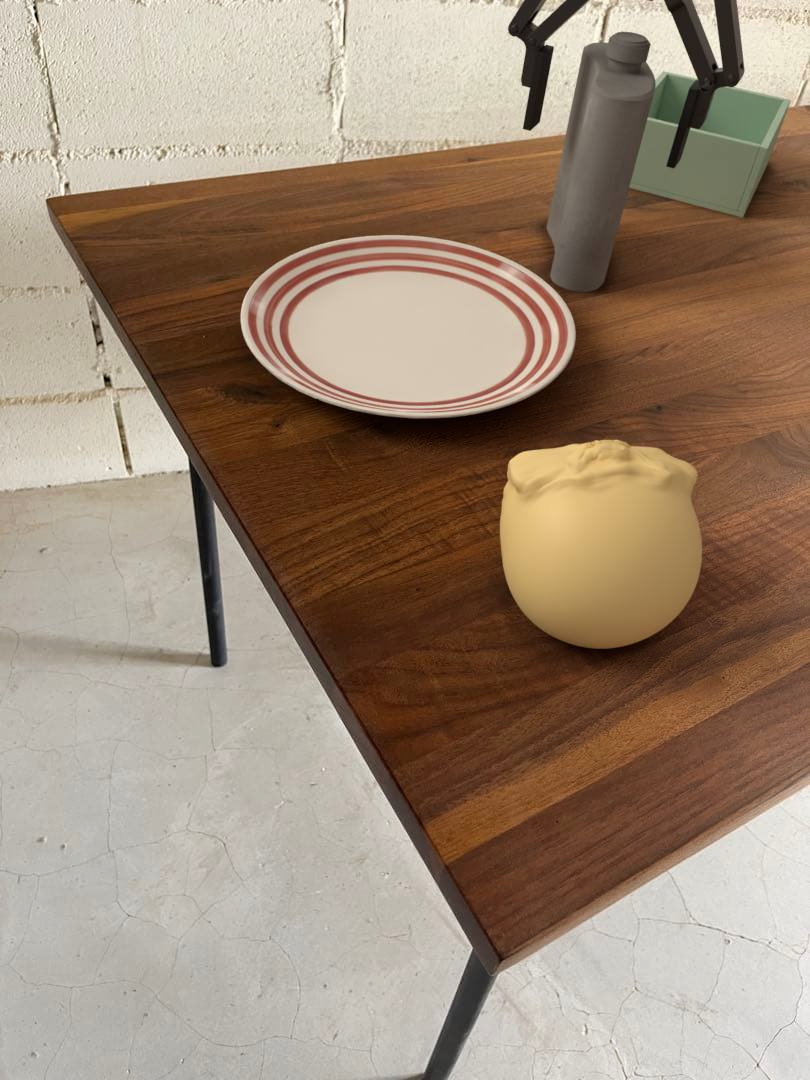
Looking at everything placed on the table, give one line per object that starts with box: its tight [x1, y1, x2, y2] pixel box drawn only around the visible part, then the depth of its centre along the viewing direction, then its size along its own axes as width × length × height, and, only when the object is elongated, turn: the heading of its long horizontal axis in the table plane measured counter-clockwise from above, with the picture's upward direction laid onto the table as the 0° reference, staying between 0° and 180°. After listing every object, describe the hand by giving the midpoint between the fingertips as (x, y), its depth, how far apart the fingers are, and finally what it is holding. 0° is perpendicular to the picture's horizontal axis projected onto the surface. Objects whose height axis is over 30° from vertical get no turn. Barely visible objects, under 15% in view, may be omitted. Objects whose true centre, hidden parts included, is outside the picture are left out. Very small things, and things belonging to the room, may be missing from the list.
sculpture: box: [499, 439, 703, 650], centre depth 52 cm, size 12×12×11 cm
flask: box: [545, 31, 656, 293], centre depth 82 cm, size 15×6×20 cm, turn 176°
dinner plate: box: [240, 234, 577, 419], centre depth 74 cm, size 28×27×3 cm
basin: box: [629, 70, 792, 218], centre depth 103 cm, size 16×18×8 cm
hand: (600, 144), depth 81 cm, fingers open, 13 cm apart
